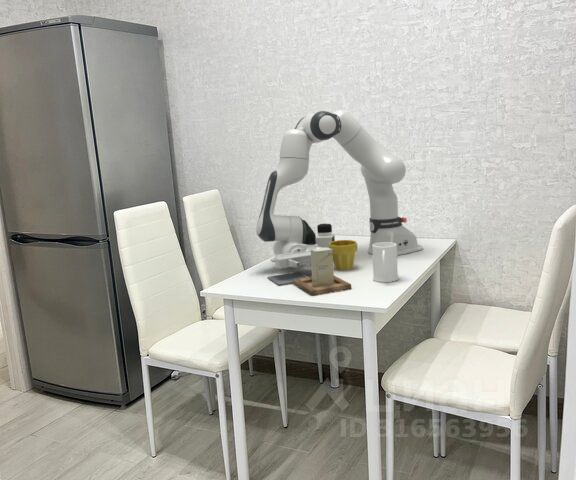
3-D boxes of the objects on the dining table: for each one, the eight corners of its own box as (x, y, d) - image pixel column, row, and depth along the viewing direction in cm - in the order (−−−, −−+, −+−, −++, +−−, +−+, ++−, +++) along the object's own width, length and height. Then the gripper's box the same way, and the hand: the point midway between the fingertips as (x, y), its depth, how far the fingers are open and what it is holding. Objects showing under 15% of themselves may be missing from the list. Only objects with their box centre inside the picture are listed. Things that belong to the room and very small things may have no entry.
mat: (298, 273, 210) (298, 271, 210) (311, 280, 199) (311, 279, 199) (267, 278, 206) (267, 276, 206) (278, 286, 195) (278, 284, 195)
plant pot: (355, 272, 207) (353, 245, 205) (327, 271, 210) (325, 245, 208) (360, 265, 216) (359, 239, 214) (334, 264, 220) (332, 239, 218)
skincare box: (317, 288, 187) (315, 251, 185) (311, 285, 191) (309, 249, 189) (334, 284, 190) (332, 248, 187) (328, 281, 194) (326, 246, 192)
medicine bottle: (333, 253, 239) (331, 225, 236) (316, 254, 240) (314, 225, 238) (335, 249, 246) (333, 222, 243) (318, 250, 247) (317, 222, 245)
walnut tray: (330, 278, 201) (330, 273, 200) (351, 289, 186) (351, 284, 186) (293, 284, 196) (293, 279, 196) (311, 296, 181) (311, 291, 181)
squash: (271, 240, 247) (283, 216, 237) (298, 236, 255) (312, 213, 246) (286, 266, 240) (299, 242, 230) (314, 260, 249) (328, 237, 239)
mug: (395, 285, 186) (394, 249, 184) (369, 285, 189) (367, 249, 187) (400, 276, 197) (399, 241, 195) (375, 275, 200) (373, 241, 198)
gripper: (268, 250, 206) (281, 257, 194) (320, 243, 213) (336, 249, 200) (269, 267, 208) (282, 276, 195) (321, 259, 214) (337, 267, 201)
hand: (310, 262), depth 198 cm, fingers open, 8 cm apart
